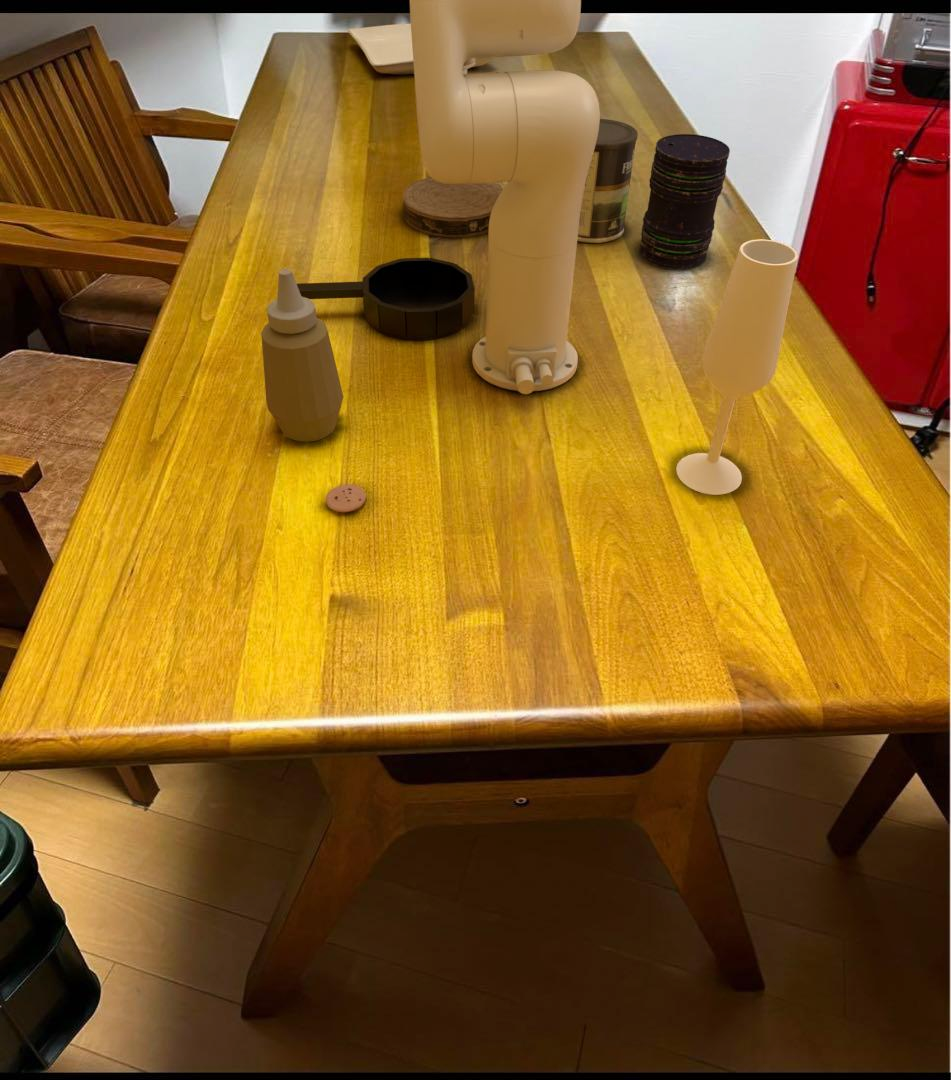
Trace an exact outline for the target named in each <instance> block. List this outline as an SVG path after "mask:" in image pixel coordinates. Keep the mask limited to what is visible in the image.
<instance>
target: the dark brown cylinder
mask: <svg viewBox="0 0 951 1080" xmlns="http://www.w3.org/2000/svg"><path fill="white" fill-rule="evenodd" d="M654 149H655V153H654V156H653V161H652V163H651V169H650V178H649V186H648V187H649V189H650V191H649V197H648V202H647V203H648V204H647V209H646V210H645V212H644V215H643V218H642V225H641V232H640V236H641V237H640V243H641V244H640V245H639V248H638V249H639V250H638V253H639V257H641V259H643V261H645V262H646V263H648V264H650V265H652V266H653V267H658V268H659V269H665V270H670V271H671V270H673V271H685V270H687V271H688V270H693V269H696V268H699V267H700V266H702V265H703V264H705V262H706V260H707V257H708V251H709V247H710V244H711V243H712V238H713V231H714V230H715V218H714V217H715V213H716V208H717V204H718V199H719V197H720V195H721V194H722V190H723V189H724V181H725V179H726V173H727V165H728V159H729V156H730V153H731V152H730V151H731V149H730V147H729V146H728V144H726V143H724V142H723V141H721V140H719V139H718V138H714V137H710V136H706V135H702V134H694V133H679V134H678V133H677V134H670V135H666V136H663V137H661V138H659V139H658V140H657V141H656V144H655V148H654Z"/></svg>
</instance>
